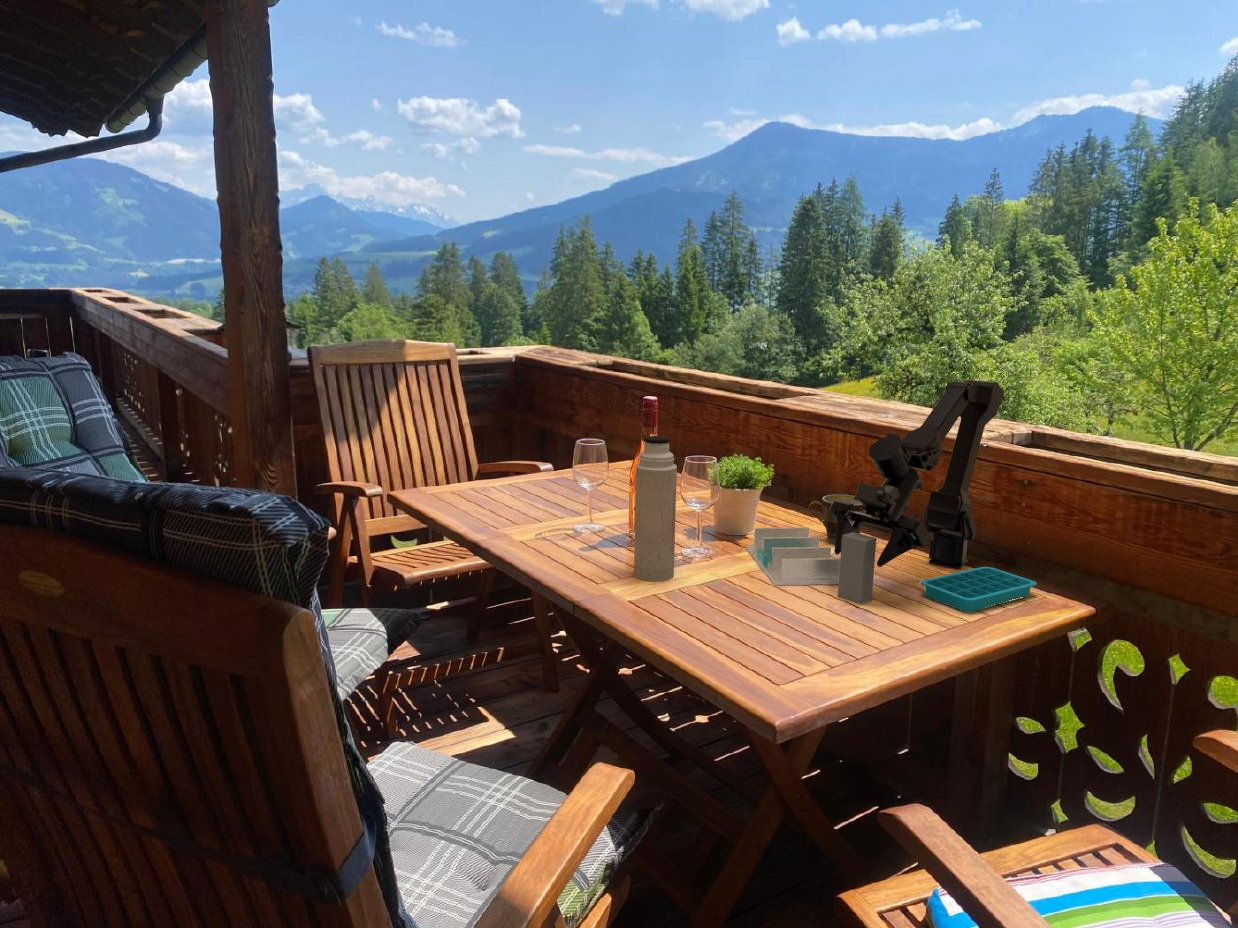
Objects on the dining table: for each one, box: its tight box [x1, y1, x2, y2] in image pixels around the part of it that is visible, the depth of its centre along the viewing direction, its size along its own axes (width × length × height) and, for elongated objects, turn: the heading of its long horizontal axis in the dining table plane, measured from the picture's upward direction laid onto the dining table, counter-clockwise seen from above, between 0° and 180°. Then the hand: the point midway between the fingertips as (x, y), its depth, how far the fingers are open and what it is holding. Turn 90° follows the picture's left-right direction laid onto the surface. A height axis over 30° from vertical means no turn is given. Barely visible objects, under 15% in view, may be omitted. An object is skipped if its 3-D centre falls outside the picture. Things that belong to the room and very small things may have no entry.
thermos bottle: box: [633, 435, 678, 582], centre depth 168 cm, size 8×8×28 cm
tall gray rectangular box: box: [837, 532, 877, 605], centre depth 158 cm, size 4×5×12 cm
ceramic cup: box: [808, 494, 866, 546], centre depth 195 cm, size 13×10×10 cm
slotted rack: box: [746, 526, 841, 586], centre depth 178 cm, size 15×23×5 cm, turn 5°
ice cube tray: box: [920, 566, 1038, 613], centre depth 162 cm, size 12×20×3 cm, turn 120°
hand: (856, 559), depth 158 cm, fingers open, 9 cm apart
